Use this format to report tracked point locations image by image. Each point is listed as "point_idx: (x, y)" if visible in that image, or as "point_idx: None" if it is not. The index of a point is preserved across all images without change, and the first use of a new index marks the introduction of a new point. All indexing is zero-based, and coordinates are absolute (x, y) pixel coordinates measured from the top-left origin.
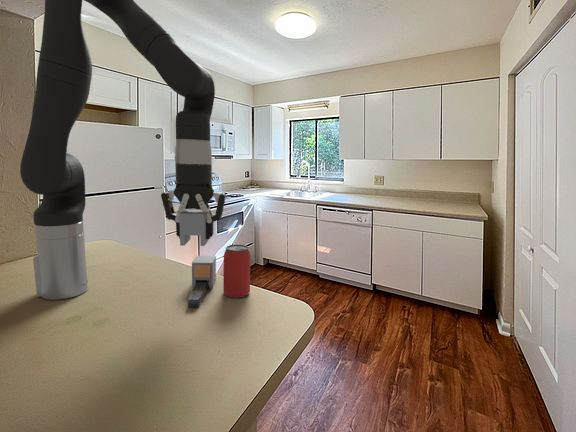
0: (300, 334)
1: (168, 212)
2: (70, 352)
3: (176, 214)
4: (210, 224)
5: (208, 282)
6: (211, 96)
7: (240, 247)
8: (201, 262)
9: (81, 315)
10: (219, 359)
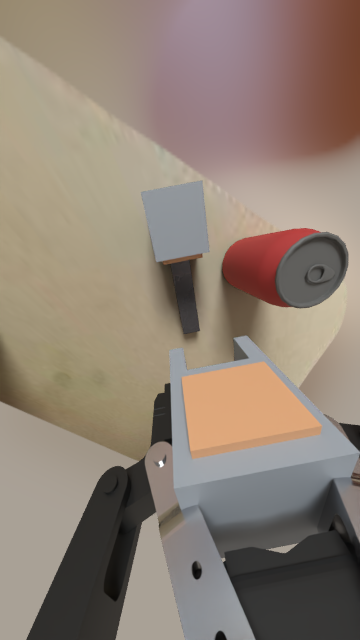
0: (320, 356)
1: (119, 556)
2: (117, 418)
3: (143, 499)
4: None
5: None
6: None
7: (322, 266)
8: (180, 255)
9: (62, 371)
10: None
